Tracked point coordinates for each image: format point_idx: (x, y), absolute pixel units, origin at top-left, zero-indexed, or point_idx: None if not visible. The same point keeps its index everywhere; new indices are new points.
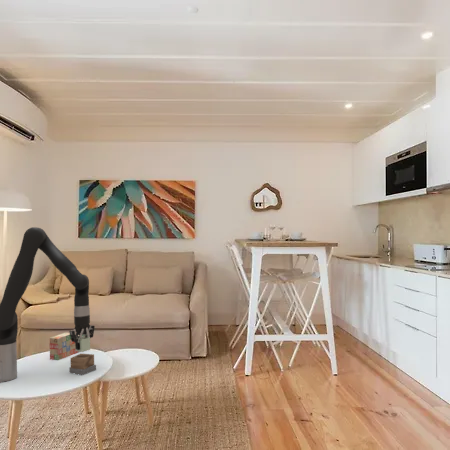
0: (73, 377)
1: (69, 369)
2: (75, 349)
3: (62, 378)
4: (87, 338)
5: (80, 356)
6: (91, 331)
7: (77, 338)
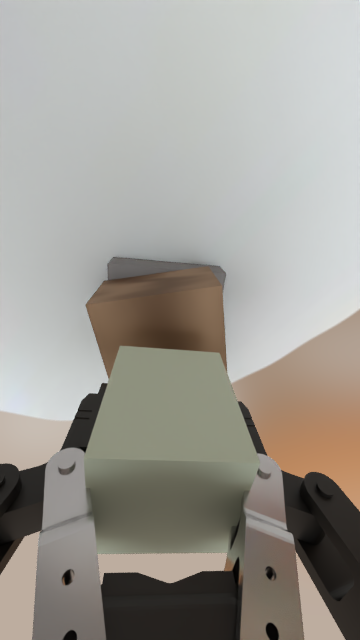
0: (73, 336)
1: (110, 261)
2: (118, 352)
3: (30, 297)
4: (185, 550)
5: (154, 343)
6: (348, 628)
7: (83, 508)
